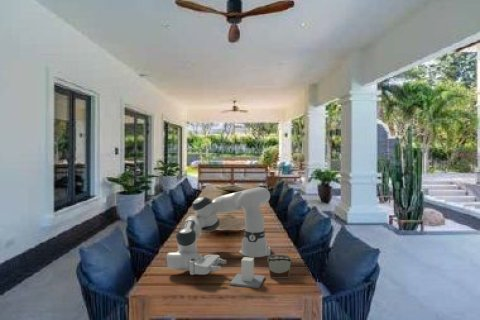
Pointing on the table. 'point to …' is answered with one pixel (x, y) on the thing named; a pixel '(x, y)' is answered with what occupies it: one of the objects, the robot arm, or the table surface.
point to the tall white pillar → (247, 269)
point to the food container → (279, 266)
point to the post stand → (255, 282)
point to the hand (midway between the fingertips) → (223, 265)
